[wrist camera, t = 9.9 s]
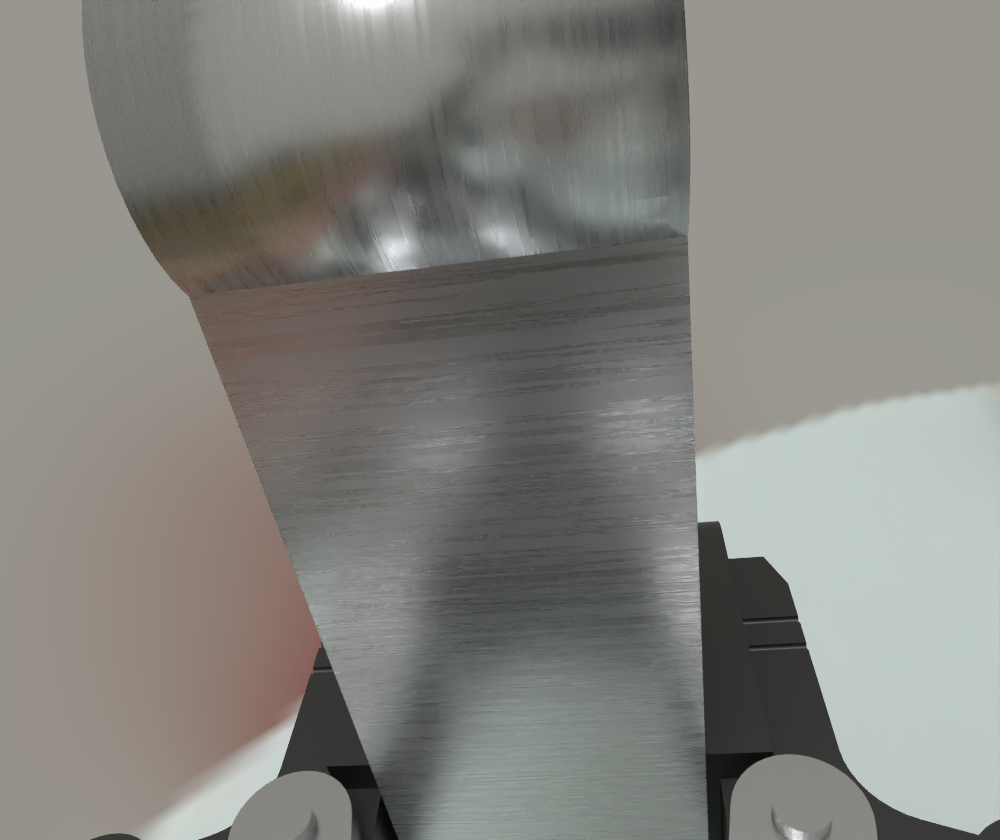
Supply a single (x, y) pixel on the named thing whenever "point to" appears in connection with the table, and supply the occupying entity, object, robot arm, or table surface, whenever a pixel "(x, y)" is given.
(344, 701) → the robot arm
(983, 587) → the table surface
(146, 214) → the brushed steel column
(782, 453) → the table surface
